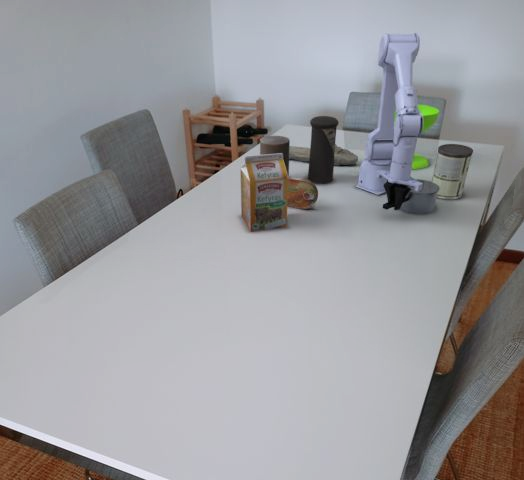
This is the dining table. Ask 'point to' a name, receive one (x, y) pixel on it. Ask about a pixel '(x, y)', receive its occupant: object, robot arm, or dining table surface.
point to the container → (322, 149)
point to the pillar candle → (276, 147)
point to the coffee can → (451, 170)
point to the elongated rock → (339, 157)
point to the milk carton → (264, 192)
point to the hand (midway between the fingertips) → (394, 208)
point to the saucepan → (418, 199)
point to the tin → (301, 193)
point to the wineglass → (429, 119)
